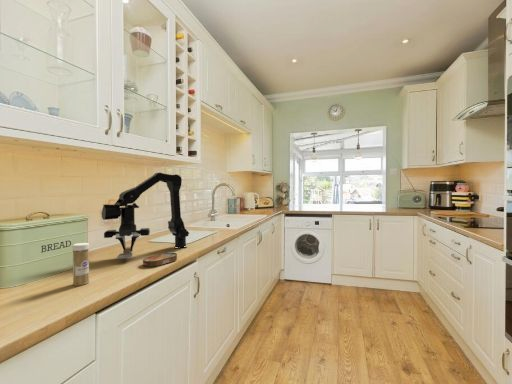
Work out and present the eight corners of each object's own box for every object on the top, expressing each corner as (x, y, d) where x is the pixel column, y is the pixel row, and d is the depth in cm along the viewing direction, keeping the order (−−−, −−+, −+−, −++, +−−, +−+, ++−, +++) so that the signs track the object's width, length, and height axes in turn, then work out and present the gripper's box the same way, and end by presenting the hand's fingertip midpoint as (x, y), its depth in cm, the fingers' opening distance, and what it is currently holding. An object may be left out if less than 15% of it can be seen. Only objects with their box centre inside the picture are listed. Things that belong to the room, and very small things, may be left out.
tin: (169, 251, 117) (181, 252, 112) (169, 258, 117) (181, 259, 112) (138, 259, 105) (150, 260, 100) (138, 266, 105) (150, 268, 100)
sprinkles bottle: (81, 286, 82) (81, 245, 82) (69, 285, 82) (68, 245, 82) (92, 281, 86) (92, 242, 86) (80, 280, 87) (80, 242, 87)
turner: (124, 251, 123) (124, 247, 123) (135, 250, 124) (135, 246, 124) (117, 258, 107) (117, 254, 107) (130, 257, 109) (130, 253, 109)
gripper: (100, 220, 108) (100, 257, 108) (147, 219, 114) (147, 253, 114) (107, 218, 118) (107, 251, 119) (149, 216, 124) (150, 248, 124)
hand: (128, 251), depth 119 cm, fingers closed on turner, 2 cm apart
